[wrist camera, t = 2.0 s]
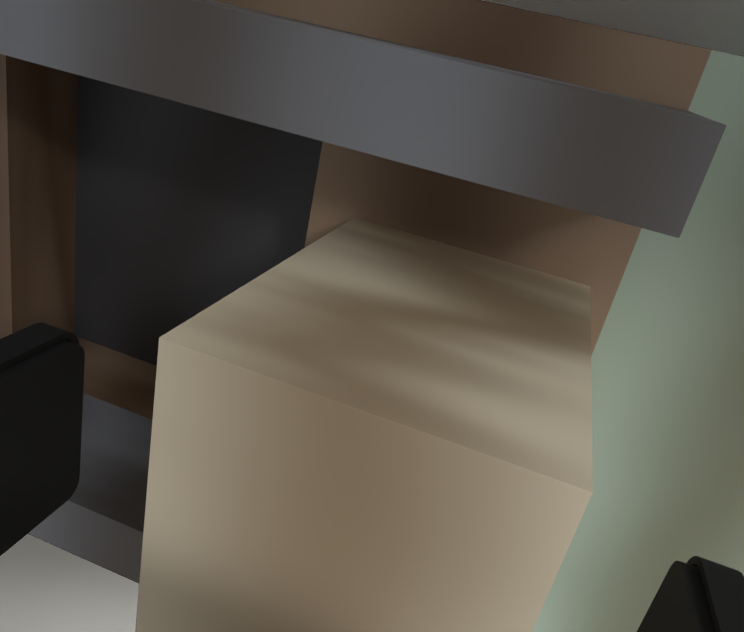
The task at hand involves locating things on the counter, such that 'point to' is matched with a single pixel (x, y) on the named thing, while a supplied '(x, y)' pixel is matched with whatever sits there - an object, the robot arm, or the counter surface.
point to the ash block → (369, 444)
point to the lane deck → (389, 225)
